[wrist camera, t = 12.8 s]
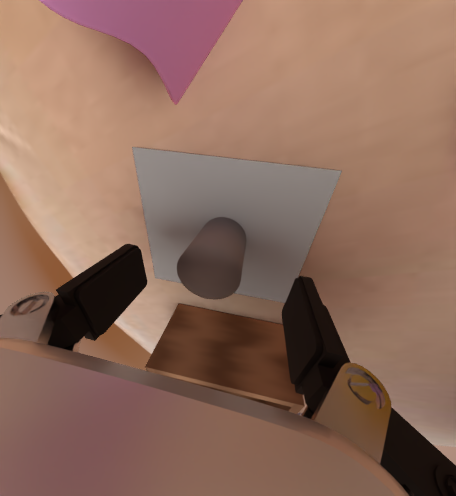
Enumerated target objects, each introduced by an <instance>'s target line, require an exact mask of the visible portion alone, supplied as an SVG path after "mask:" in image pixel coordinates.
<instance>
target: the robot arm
mask: <svg viewBox="0 0 456 496" xmlns="http://www.w3.org/2000/svg"><path fill="white" fill-rule="evenodd" d="M146 285H147V278H146V273H145V268H144V263H143V259H142V254H141V250H140V249H139V247H138V246H136V245H131V244H126V245H124V246H122V247H121V248H119V249H118V250H116V251H115V252H113V253H112V254H110V255H108V256H107V257H105V258H104V259H102V260H101V261H99V262H98V263H96V264H95V265H93V266H92V267H90V268H88V269H87V270H85V271H84V272H82V273H81V274H79V275H78V276H76V277H75V278H73V279H72V280H70V281H69V282H67V283H65V284H64V285H62V286H61V287H59V288H58V289H56V291H57V292H58V294H59V295H57V296H56V297H55V296H54V295H53V293H50V292H40V293H35V294H32V295H28V296H26V297H24V298H21V299H20V300H18V301H16V302H14V303H13V304H12V305H10V306H9V307H8V308H7V309H6V311H5V312H4V314H2V315H0V496H456V465H454V464H453V463H452V462H451V461H450V460H449V459H448V458H447V457H445V456H444V455H443V454H442V453H441V452H440V451H439V450H438V449H437V448H436V447H434V446H433V445H432V444H431V443H430V442H429V441H428V440H427V439H426V438H425V437H424V436H422V435H421V434H420V433H419V432H418V431H417V430H416V429H415V428H414V427H412V426H411V425H410V424H409V423H408V422H407V421H406V420H405V419H404V418H403V417H401V416H400V415H399V414H398V413H397V412H396V411H395V410H394V409H393V408H391V401H390V398H389V395H388V393H387V391H386V390H385V388H384V386H383V385H382V384H381V382H380V381H379V380H378V379H377V378H376V377H375V376H374V375H373V374H372V373H371V372H370V371H368V370H367V369H365V368H364V367H362V366H360V365H358V364H355V363H350V360H349V358H348V356H347V353H346V351H345V349H344V346H343V344H342V342H341V340H340V337H339V335H338V333H337V330H336V328H335V326H334V323H333V321H332V319H331V316H330V314H329V312H328V309H327V308H326V306H324V305H323V304H322V301H321V299H320V297H319V294H318V292H317V289H316V287H315V285H314V282H313V280H312V278H309V277H303V276H300V277H299V278H295V280H294V283H293V285H292V288H291V290H290V293H289V295H288V297H287V300H286V302H285V305H284V307H283V310H282V320H283V328H284V336H285V344H286V351H287V359H288V367H289V374H290V381H291V383H292V384H294V385H295V392H296V393H298V394H302V395H304V399H305V403H306V405H307V406H306V408H305V410H304V412H303V413H302V415H301V416H300V415H298V414H295V413H292V412H289V411H286V410H283V409H279V408H276V407H273V406H269V405H266V404H263V403H259V402H256V401H253V400H249V399H246V398H242V397H239V396H235V395H232V394H228V393H224V392H221V391H217V390H214V389H210V388H206V387H203V386H199V385H196V384H192V383H188V382H185V381H181V380H177V379H174V378H170V377H166V376H163V375H159V374H155V373H152V372H148V371H144V370H141V369H137V368H133V367H130V366H126V365H122V364H119V363H115V362H111V361H107V360H103V359H100V358H96V357H92V356H88V355H84V354H81V353H78V351H79V346H80V340H81V339H82V338H83V336H85V338H87V339H91V340H94V341H95V340H96V339H97V338H98V337H99V336H100V335H102V334H104V333H105V332H106V330H108V328H109V327H110V326H111V325H112V324H113V323H114V322H115V321H116V319H117V318H118V317H119V316H120V315H121V314H122V313H123V312H124V310H125V309H126V308H127V307H128V306H129V305H130V304H131V302H132V301H133V300H134V299H135V298H136V297H137V296H138V295H139V293H140V292H141V291H142V290H143V289H144V288H145V287H146Z"/></svg>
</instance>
